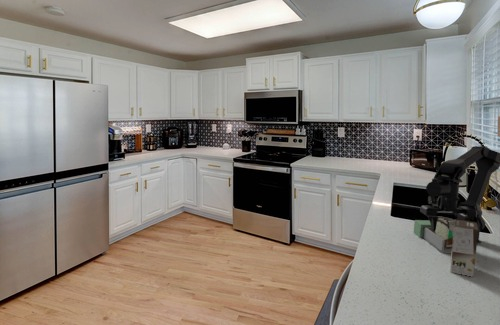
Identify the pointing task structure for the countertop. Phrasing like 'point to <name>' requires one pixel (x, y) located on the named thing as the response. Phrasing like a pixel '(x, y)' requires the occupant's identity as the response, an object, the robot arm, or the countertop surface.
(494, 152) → the robot arm
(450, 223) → the food container
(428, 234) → the green block on stand
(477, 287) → the countertop surface
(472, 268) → the coffee box
